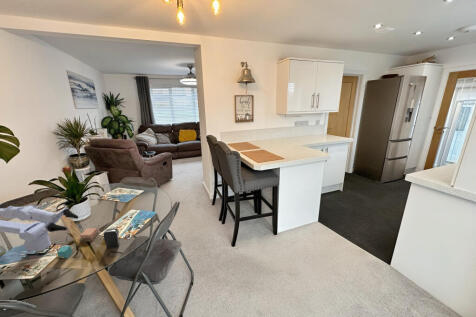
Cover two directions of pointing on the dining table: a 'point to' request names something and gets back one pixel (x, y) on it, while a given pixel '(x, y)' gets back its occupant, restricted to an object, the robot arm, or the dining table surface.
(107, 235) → the battery
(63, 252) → the teal block
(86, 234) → the tower top
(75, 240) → the dining table surface
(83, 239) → the tower base
